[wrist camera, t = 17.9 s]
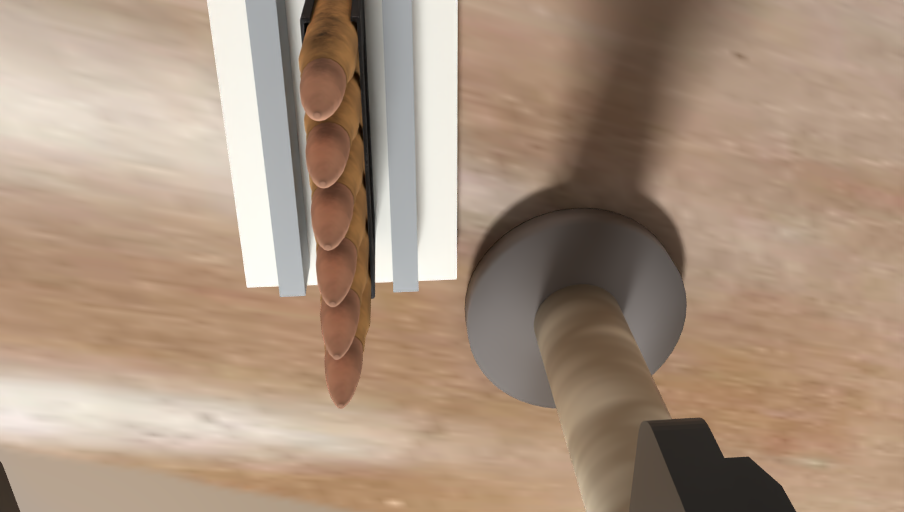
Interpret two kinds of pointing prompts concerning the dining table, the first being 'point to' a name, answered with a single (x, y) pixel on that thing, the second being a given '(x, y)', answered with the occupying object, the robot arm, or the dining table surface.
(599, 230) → the bobbin post
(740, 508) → the robot arm
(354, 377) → the ammunition clip
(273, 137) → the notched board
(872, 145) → the dining table surface
